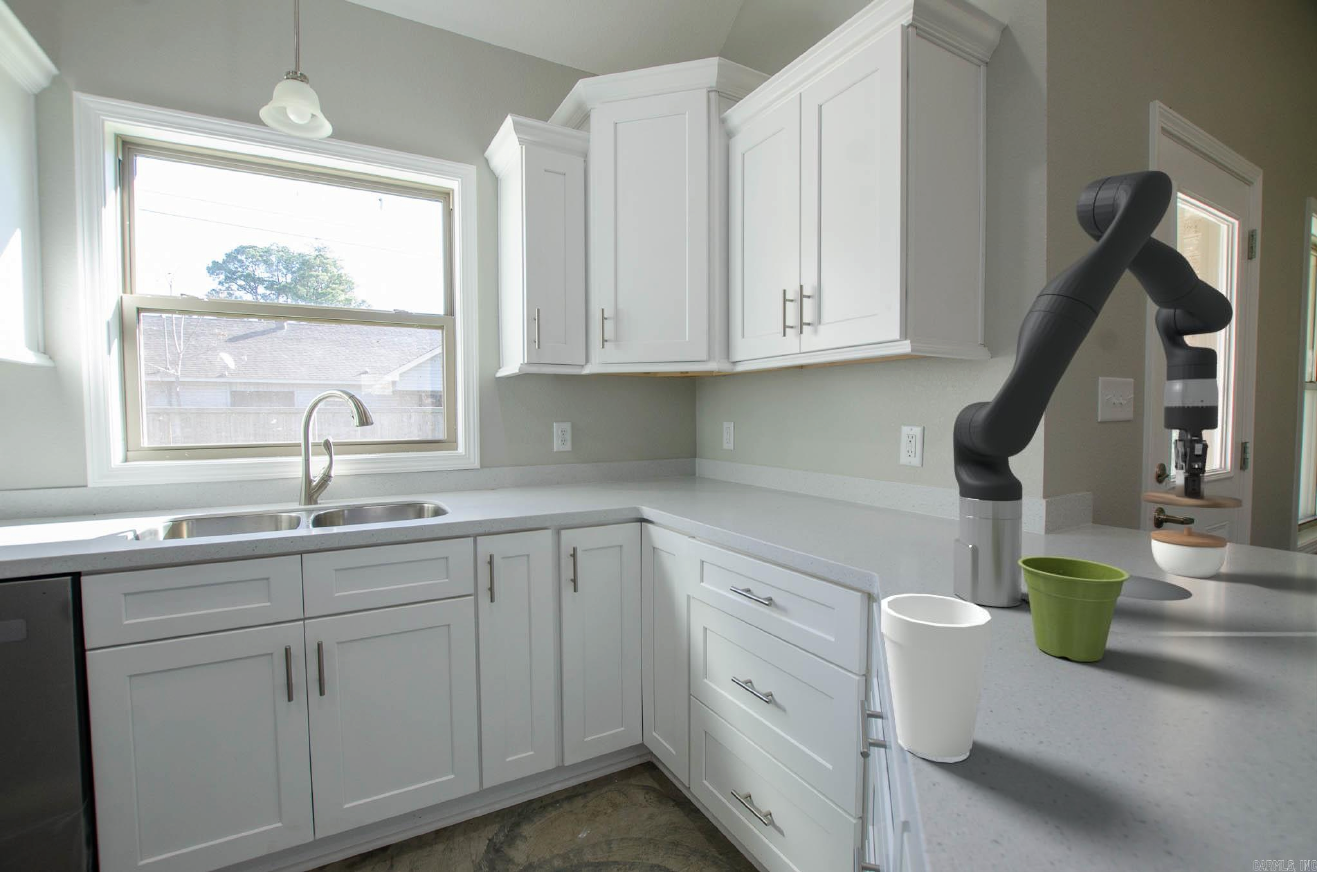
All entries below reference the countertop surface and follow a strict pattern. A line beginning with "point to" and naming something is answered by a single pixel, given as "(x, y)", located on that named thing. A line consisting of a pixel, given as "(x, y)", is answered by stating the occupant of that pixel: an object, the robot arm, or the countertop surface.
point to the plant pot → (1072, 604)
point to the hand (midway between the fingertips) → (1189, 494)
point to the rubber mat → (1152, 589)
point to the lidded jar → (1188, 552)
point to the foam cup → (935, 669)
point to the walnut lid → (1182, 500)
